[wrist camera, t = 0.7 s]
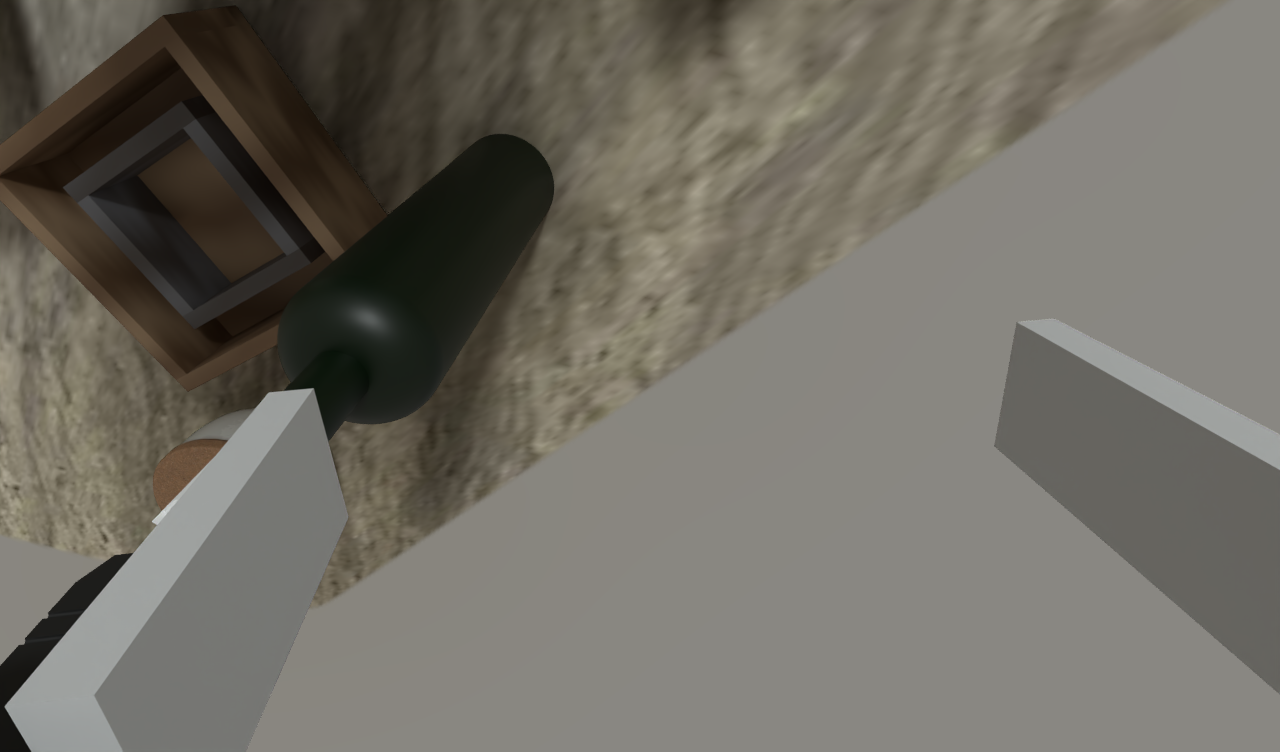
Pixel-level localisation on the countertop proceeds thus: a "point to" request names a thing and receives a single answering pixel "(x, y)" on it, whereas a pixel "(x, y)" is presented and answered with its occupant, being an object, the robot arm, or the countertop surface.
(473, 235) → the wine bottle
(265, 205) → the crate
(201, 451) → the lidded jar
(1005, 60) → the countertop surface
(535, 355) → the countertop surface
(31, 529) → the countertop surface
